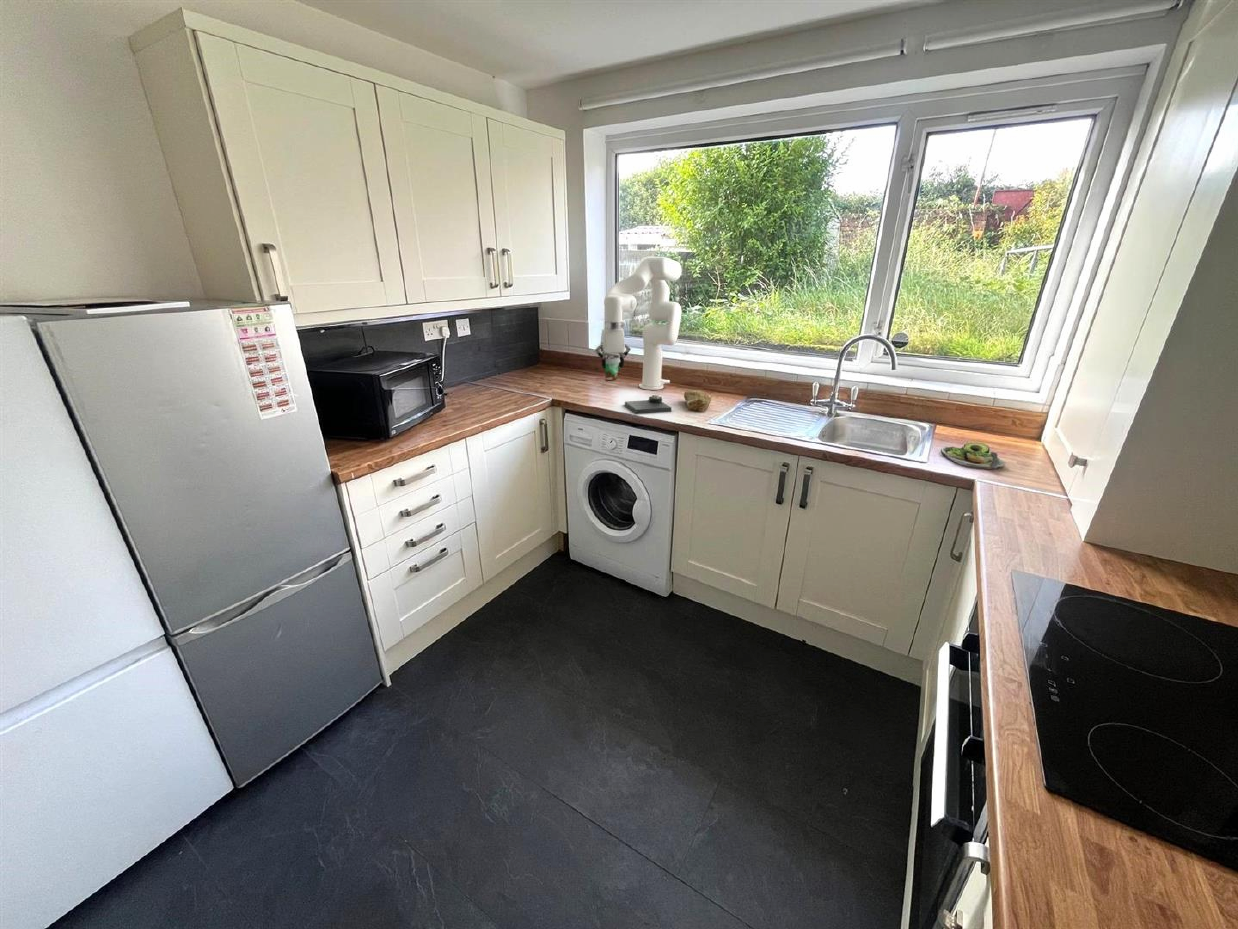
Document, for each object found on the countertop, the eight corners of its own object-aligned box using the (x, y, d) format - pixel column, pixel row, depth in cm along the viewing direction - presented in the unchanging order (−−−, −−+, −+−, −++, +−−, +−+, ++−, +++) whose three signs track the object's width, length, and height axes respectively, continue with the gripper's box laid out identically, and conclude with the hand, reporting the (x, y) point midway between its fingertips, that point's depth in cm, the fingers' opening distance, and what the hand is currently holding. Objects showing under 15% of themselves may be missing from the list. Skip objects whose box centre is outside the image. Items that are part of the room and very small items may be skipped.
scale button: (657, 397, 222) (657, 393, 221) (659, 399, 219) (659, 395, 219) (651, 397, 221) (651, 394, 220) (653, 399, 219) (654, 395, 218)
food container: (619, 382, 215) (620, 359, 211) (605, 382, 215) (605, 358, 211) (619, 376, 227) (620, 354, 223) (606, 375, 227) (607, 353, 223)
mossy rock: (709, 415, 213) (714, 396, 229) (707, 399, 209) (712, 380, 225) (679, 417, 217) (686, 398, 233) (676, 401, 213) (684, 382, 229)
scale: (658, 403, 225) (658, 395, 224) (671, 411, 212) (672, 403, 211) (624, 405, 219) (624, 397, 218) (636, 414, 207) (636, 405, 206)
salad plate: (1021, 475, 155) (1026, 461, 154) (959, 470, 158) (963, 456, 156) (989, 454, 173) (993, 442, 171) (934, 450, 176) (937, 437, 174)
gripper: (629, 324, 218) (628, 364, 225) (591, 325, 212) (591, 366, 219) (635, 326, 211) (634, 368, 218) (596, 327, 206) (596, 370, 213)
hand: (612, 367), depth 219 cm, fingers closed on food container, 7 cm apart
